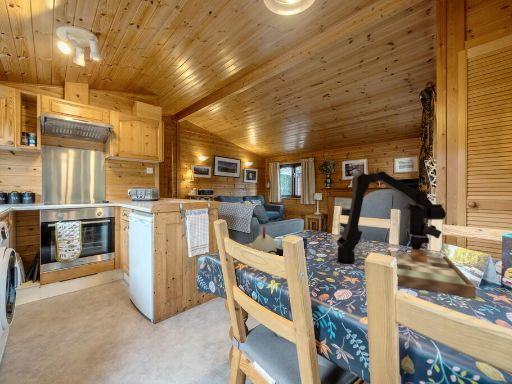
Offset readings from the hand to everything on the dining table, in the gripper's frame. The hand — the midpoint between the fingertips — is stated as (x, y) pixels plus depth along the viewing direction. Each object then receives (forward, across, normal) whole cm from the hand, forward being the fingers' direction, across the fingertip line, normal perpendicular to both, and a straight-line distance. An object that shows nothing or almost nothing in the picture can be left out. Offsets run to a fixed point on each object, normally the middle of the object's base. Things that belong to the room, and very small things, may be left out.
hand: (416, 254), depth 103 cm
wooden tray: (+4, -14, 0) cm, 14 cm away
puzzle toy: (+4, -23, +48) cm, 54 cm away
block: (+1, -4, 0) cm, 4 cm away
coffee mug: (+4, -37, +48) cm, 61 cm away
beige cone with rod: (+4, -26, +62) cm, 68 cm away
